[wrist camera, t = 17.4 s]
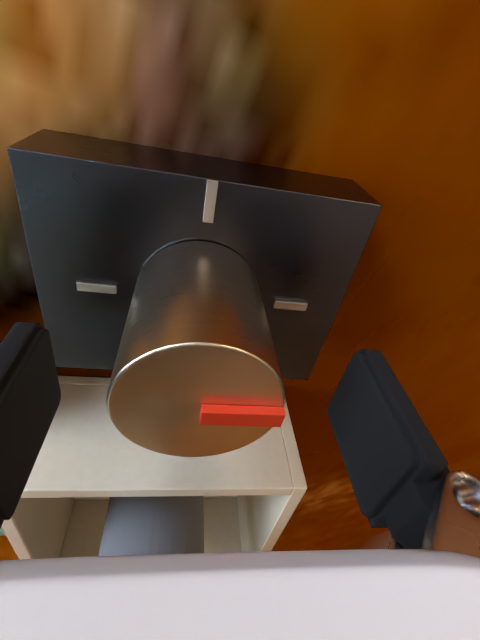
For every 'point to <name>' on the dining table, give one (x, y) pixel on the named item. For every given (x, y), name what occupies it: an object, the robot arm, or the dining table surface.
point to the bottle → (153, 526)
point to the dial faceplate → (180, 237)
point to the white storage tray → (147, 482)
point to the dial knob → (196, 356)
